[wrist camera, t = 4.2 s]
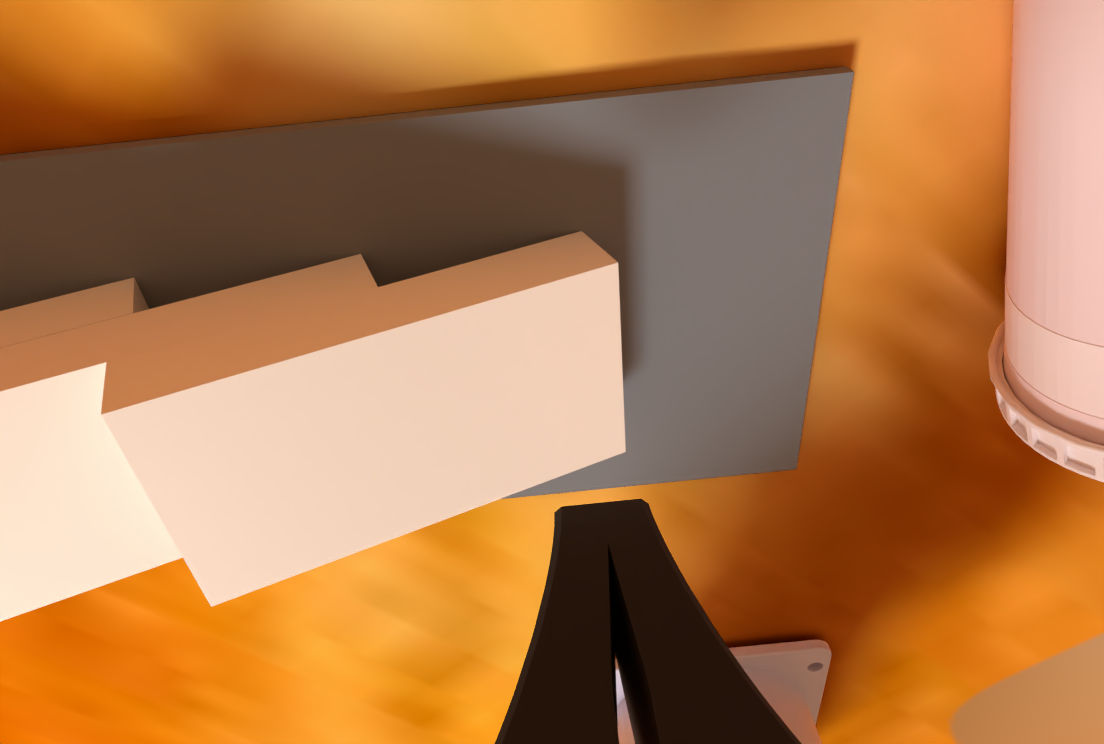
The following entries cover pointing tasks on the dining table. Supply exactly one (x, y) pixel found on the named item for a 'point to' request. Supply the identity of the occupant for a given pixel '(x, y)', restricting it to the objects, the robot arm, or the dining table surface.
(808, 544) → the dining table surface
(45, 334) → the domino
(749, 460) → the runner mat
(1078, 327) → the smoothie
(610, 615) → the robot arm
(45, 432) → the domino
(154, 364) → the domino
